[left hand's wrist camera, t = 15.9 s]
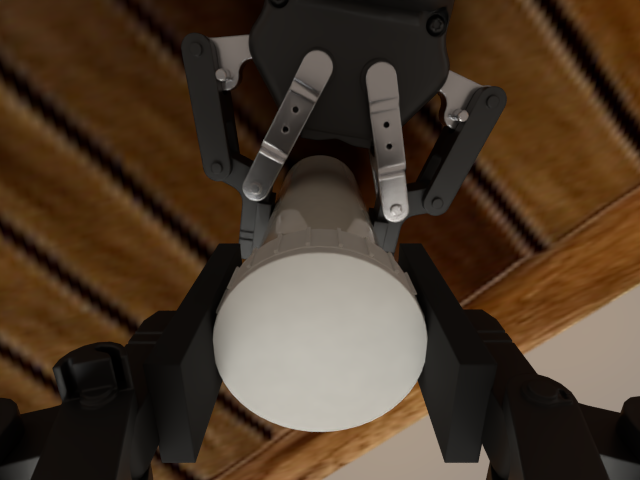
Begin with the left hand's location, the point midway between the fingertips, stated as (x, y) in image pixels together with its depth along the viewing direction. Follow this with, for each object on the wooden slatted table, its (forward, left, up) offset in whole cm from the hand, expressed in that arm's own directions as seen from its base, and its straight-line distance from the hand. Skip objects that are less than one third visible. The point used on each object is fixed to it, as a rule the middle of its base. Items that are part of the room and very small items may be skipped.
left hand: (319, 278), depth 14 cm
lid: (0, 0, +4) cm, 4 cm away
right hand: (+1, -2, -6) cm, 6 cm away
